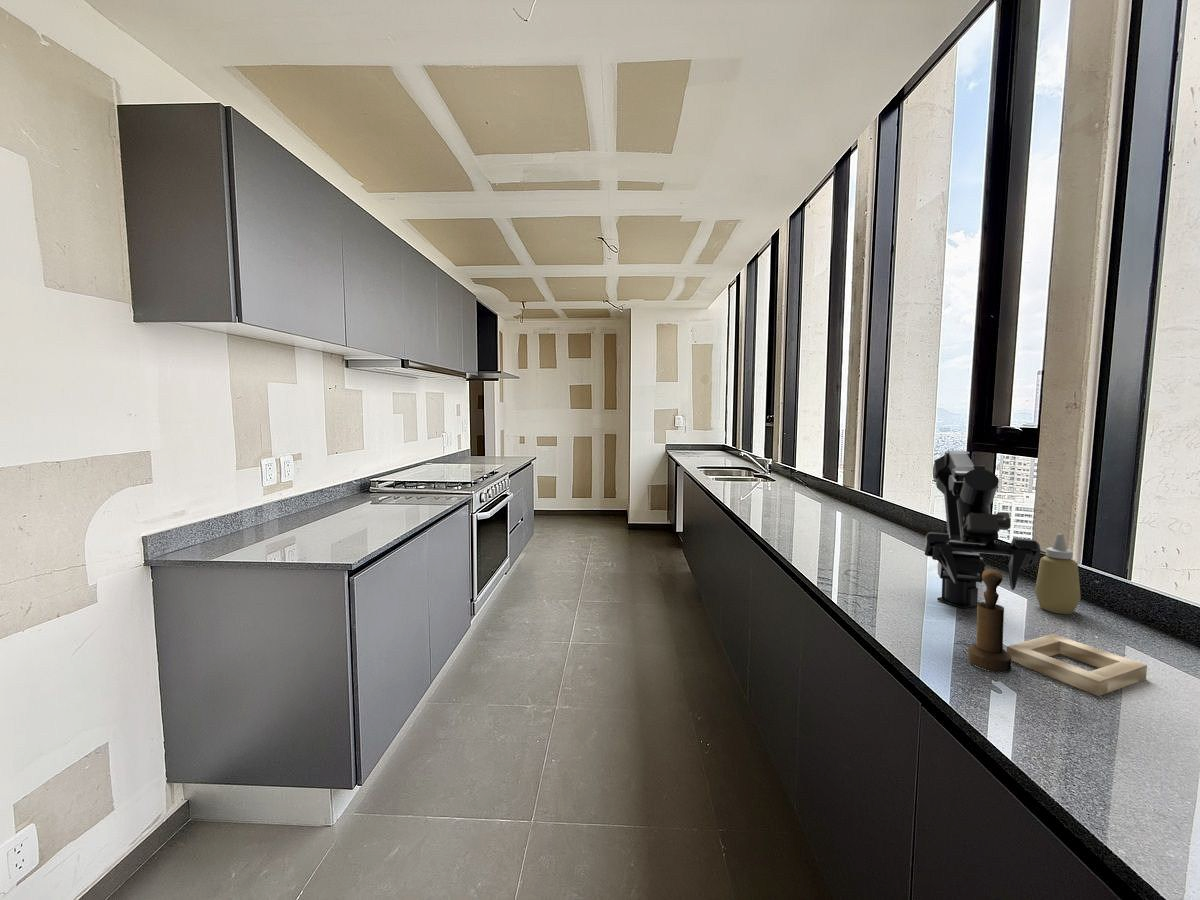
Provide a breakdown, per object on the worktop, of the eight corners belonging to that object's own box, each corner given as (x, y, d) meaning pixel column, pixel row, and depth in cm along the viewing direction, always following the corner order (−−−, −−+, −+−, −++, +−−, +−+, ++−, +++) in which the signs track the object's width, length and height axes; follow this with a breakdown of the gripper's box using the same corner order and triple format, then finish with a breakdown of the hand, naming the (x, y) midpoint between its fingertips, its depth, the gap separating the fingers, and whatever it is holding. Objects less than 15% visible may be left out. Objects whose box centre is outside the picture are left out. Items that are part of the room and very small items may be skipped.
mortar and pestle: (958, 656, 100) (961, 565, 99) (990, 654, 101) (993, 563, 99) (987, 674, 94) (990, 576, 92) (1020, 671, 94) (1024, 574, 93)
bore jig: (1006, 659, 99) (1006, 646, 99) (1052, 645, 104) (1053, 633, 104) (1098, 696, 86) (1099, 681, 86) (1146, 679, 91) (1146, 665, 91)
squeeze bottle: (1070, 619, 117) (1073, 540, 115) (1027, 607, 124) (1030, 533, 122) (1086, 612, 120) (1090, 535, 119) (1044, 601, 127) (1047, 528, 126)
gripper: (927, 494, 110) (932, 559, 101) (1039, 499, 101) (1056, 570, 92) (922, 523, 117) (926, 586, 108) (1026, 531, 109) (1040, 599, 100)
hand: (984, 585), depth 102 cm, fingers open, 9 cm apart
